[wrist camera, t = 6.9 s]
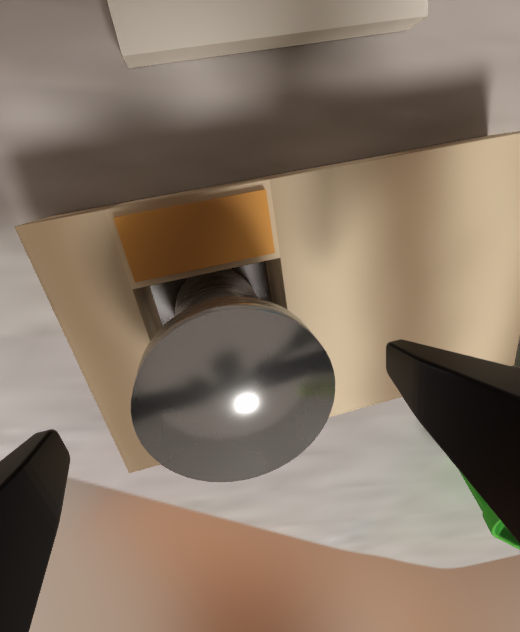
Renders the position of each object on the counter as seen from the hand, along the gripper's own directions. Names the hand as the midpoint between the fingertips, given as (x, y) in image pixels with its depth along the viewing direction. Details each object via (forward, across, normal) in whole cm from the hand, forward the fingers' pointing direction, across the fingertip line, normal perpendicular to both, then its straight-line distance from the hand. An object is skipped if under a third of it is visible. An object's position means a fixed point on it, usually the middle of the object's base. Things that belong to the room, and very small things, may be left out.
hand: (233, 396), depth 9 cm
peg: (+6, 0, 0) cm, 7 cm away
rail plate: (+6, -4, 0) cm, 8 cm away
